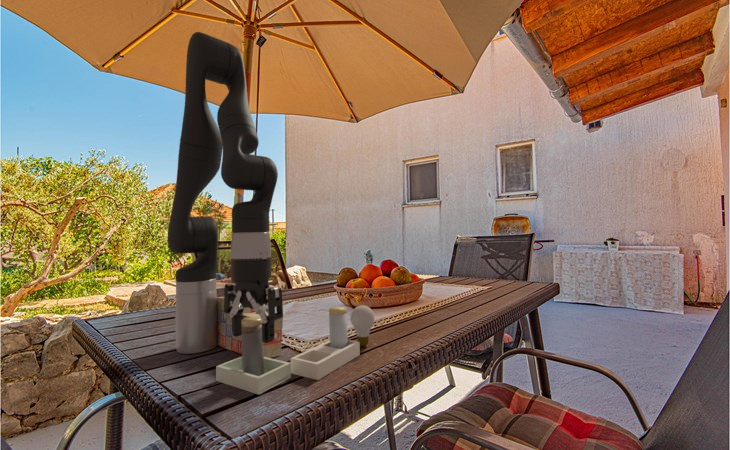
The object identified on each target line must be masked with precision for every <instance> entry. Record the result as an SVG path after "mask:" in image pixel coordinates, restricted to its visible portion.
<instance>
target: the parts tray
mask: <svg viewBox="0 0 730 450" xmlns="http://www.w3.org/2000/svg"><path fill="white" fill-rule="evenodd" d="M215 369H216V370H215V375H216V376H215V379H216V382H219V383H221V384H225V385H227V386H231V387H234V388H238V389H240V390H244V391H247V392H249V393H253V394H256V395H261V394H264V393H265V392H267V391H268V390H270V389H272V388H274V387H276V386H278V385H279V384H282V383H283V382H286V381H287V380H289V379H291V378H292V373H291V362H288V361H284V360H279V359H274V358H267V357H264V374H263V375H261V376H256V375H253V374H249V373H246V372H242V355H241V356H239V357H237V358H234V359H232V360H229V361H226V362H224V363H221V364H218V365H216V367H215Z"/></svg>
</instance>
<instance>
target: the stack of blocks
mask: <svg viewBox="0 0 730 450" xmlns="http://www.w3.org/2000/svg"><path fill="white" fill-rule="evenodd" d="M230 306H232V301H230ZM265 313H266V315H267V316H268V313H267V312H265ZM241 316H244V318H248V317H260V315H259V314H257V313H256V312H255V310H254V309H250V308H249V307H247V308H246V310H245V311H244V313H243V315H241ZM283 326H284V317H283V318H280V319H277V320H275V322H274V332H275V336H274V339H273V341H271V342H268V343H263V347H264V357H267V358H271V359H273V358H275V357H279V356H282V341H283ZM217 346H219V347H221V348H224V349H226V350H229V351H233V352H235V353H237V354H240V355H242V335H240V336H237V337H236V336H233V332H232V318H231V317H230V314H228V313H225V312H224V296H217Z"/></svg>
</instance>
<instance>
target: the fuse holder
mask: <svg viewBox="0 0 730 450" xmlns="http://www.w3.org/2000/svg"><path fill="white" fill-rule="evenodd" d="M360 348H361V346H360V342H358V340H357V341H356V340H351V339H350V340H349V339H348V346H347V347H345V348H343V349H338V348H333V347H330V339H329V340H327V341H324V342H323V343H320V344H318V345H316V346H314V347H312V348H310V349H307V350H305V351H303V352H301V353H299V354H297V355H295V356H292V357H291V358H290V363H291V375H296V376H301V377H304V378H308V379H311V380H316V381H319V380H321V379H323V378H324V377H326V376H328V375H330V374H331V373H333V372H334V371H336V370H337V369H339V368H341V367H342V366H344V365H346V364H348V363H349V362H351V361H352V360H354V359H356V358H358V357H359V356H360V355H361V350H360Z"/></svg>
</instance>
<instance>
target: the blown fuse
mask: <svg viewBox="0 0 730 450" xmlns="http://www.w3.org/2000/svg"><path fill="white" fill-rule="evenodd" d="M241 323H242V354H241V356H242V372H246V373H249V374H253V375H256V376H261V375H263V374H264V347H263V342H262V323H263V321H262V319H261V317H248V318H244V319H242V320H241Z"/></svg>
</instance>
